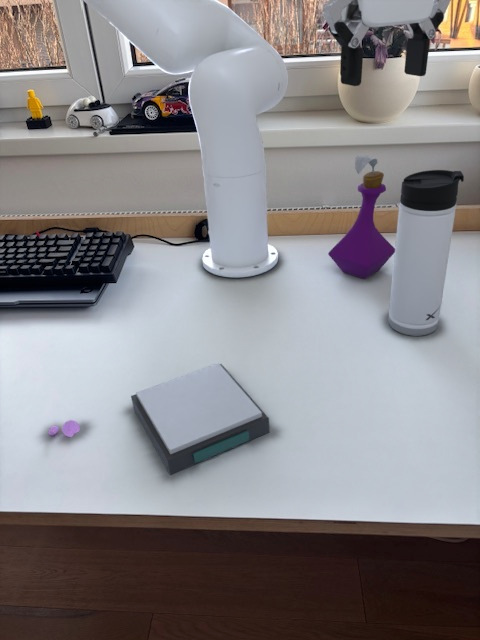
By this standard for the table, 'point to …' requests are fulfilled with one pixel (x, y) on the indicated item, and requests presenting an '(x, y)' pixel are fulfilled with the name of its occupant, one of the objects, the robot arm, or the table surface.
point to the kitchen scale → (198, 416)
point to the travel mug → (422, 250)
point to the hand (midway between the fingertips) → (383, 79)
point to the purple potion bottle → (364, 230)
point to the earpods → (66, 429)
